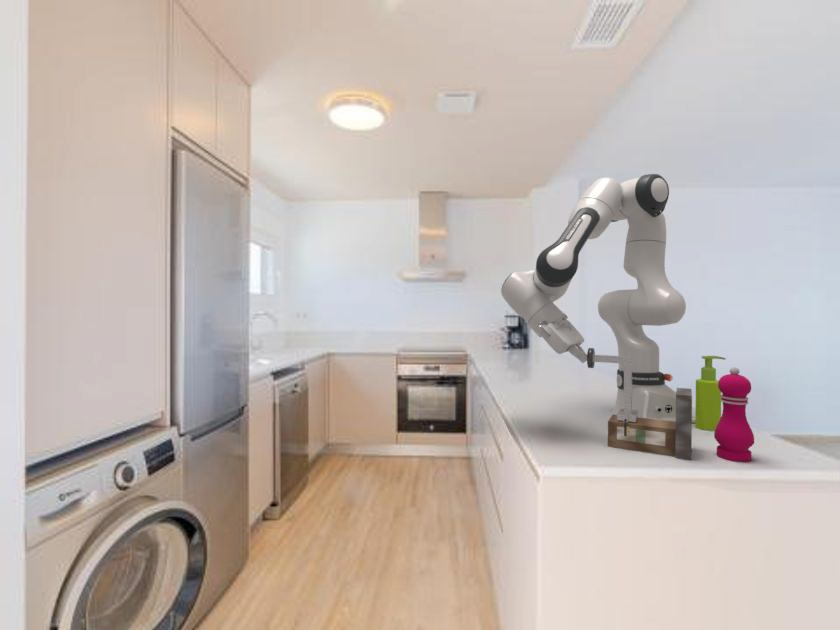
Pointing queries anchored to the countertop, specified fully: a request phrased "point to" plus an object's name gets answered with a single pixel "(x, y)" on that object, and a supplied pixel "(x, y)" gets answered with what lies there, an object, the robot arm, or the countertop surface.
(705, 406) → the soap dispenser
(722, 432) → the pepper mill
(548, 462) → the countertop surface
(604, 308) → the robot arm
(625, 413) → the plunger
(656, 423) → the stand
